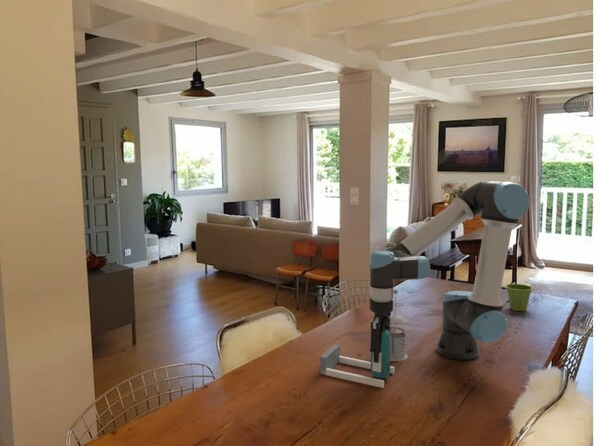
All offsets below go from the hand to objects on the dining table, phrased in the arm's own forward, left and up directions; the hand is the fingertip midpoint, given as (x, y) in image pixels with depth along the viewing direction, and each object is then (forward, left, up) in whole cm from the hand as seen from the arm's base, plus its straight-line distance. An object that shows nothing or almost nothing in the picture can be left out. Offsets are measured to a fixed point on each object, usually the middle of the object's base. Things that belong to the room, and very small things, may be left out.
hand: (380, 366), depth 154 cm
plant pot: (-36, -100, -4) cm, 107 cm away
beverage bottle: (0, 0, -4) cm, 4 cm away
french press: (+1, -19, -4) cm, 20 cm away
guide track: (+8, 0, -4) cm, 9 cm away
